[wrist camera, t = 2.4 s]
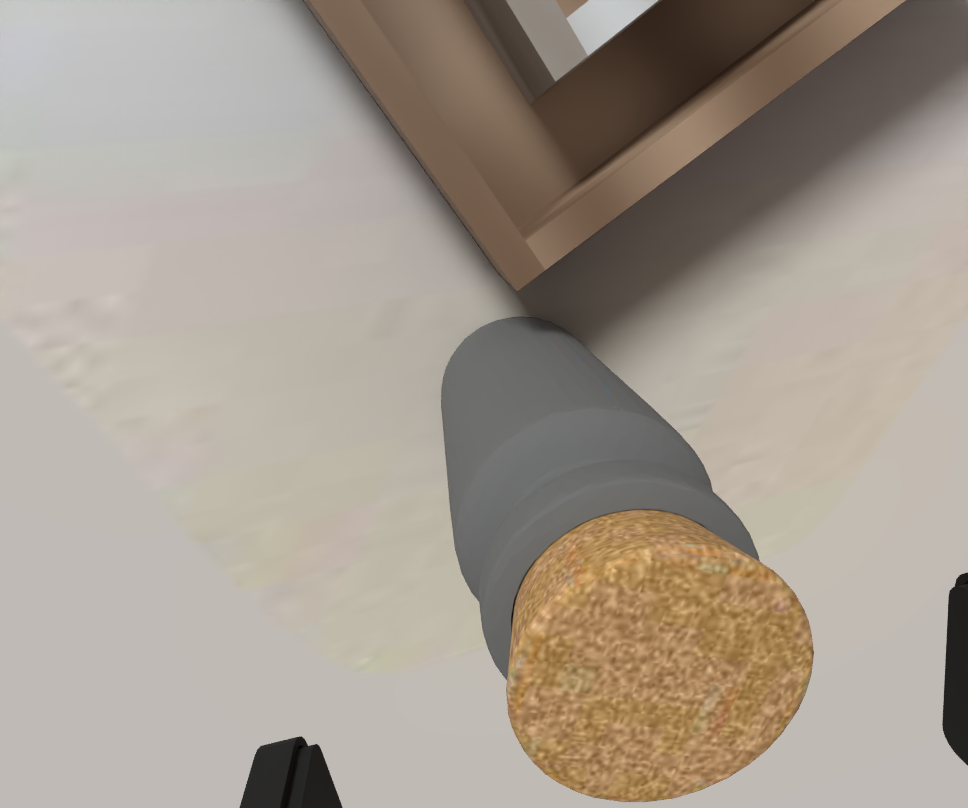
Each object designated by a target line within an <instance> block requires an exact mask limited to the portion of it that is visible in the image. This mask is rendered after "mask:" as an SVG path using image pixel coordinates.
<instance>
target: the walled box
mask: <svg viewBox="0 0 968 808" xmlns="http://www.w3.org/2000/svg"><path fill="white" fill-rule="evenodd" d="M303 1H304V2H305V4H306V5H307V7H308V8H309V9H310V11H311V12H312V14H313V15H314V16H315V18H316V19H317V21H318V22H319V23H320V25H321V26H322V28H323V29H324V30H325V32H326V33H327V35H328V36H329V37H330V39H331V40H332V42H333V43H334V44H335V46H336V47H337V49H338V50H339V51H340V53H341V54H342V56H343V57H344V58H345V60H346V61H347V63H348V64H349V65H350V67H351V68H352V69H353V71H354V72H355V74H356V75H357V76H358V78H359V79H360V81H361V82H362V83H363V85H364V86H365V88H366V89H367V90H368V92H369V93H370V95H371V96H372V97H373V99H374V100H375V102H376V103H377V104H378V106H379V107H380V109H381V110H382V111H383V113H384V114H385V116H386V117H387V118H388V120H389V121H390V123H391V124H392V125H393V127H394V128H395V130H396V131H397V132H398V134H399V135H400V137H401V138H402V139H403V141H404V142H405V144H406V145H407V146H408V148H409V149H410V151H411V152H412V153H413V155H414V156H415V158H416V159H417V160H418V162H419V163H420V165H421V166H422V167H423V169H424V170H425V172H426V173H427V174H428V176H429V177H430V179H431V180H432V181H433V183H434V184H435V186H436V187H437V188H438V190H439V191H440V192H441V194H442V195H443V197H444V198H445V199H446V201H447V202H448V204H449V205H450V206H451V208H452V209H453V211H454V212H455V213H456V215H457V216H458V218H459V219H460V220H461V222H462V223H463V225H464V226H465V227H466V229H467V230H468V232H469V233H470V234H471V236H472V237H473V239H474V240H475V241H476V243H477V244H478V246H479V247H480V248H481V250H482V251H483V253H484V254H485V255H486V257H487V258H488V260H489V261H490V262H491V264H492V265H493V267H494V268H495V269H496V271H497V272H498V274H499V275H500V276H501V277H502V278H504V279H505V280H506V281H507V282H508V283H509V284H510V285H511V286H512V287H513V288H514V289H515V290H516V291H518V290H520V289H521V288H522V287H524V286H525V285H526V284H528V283H529V282H530V281H532V280H533V279H534V278H536V277H537V276H538V275H540V274H541V273H542V272H544V271H545V270H546V269H548V268H549V267H550V266H552V265H553V264H554V263H556V262H557V261H558V260H560V259H561V258H562V257H564V256H565V255H566V254H568V253H569V252H570V251H572V250H573V249H574V248H576V247H577V246H579V245H580V244H581V243H583V242H584V241H585V240H587V239H588V238H589V237H591V236H592V235H593V234H595V233H596V232H597V231H599V230H600V229H601V228H603V227H604V226H605V225H607V224H608V223H609V222H611V221H612V220H613V219H615V218H616V217H617V216H619V215H620V214H621V213H623V212H624V211H625V210H627V209H628V208H629V207H631V206H632V205H633V204H635V203H636V202H637V201H639V200H640V199H641V198H643V197H644V196H645V195H647V194H648V193H649V192H651V191H652V190H653V189H655V188H656V187H657V186H659V185H660V184H661V183H663V182H664V181H665V180H667V179H668V178H669V177H671V176H672V175H673V174H675V173H676V172H677V171H679V170H680V169H681V168H683V167H684V166H685V165H687V164H688V163H689V162H691V161H692V160H693V159H695V158H696V157H697V156H699V155H700V154H701V153H703V152H704V151H705V150H707V149H708V148H709V147H711V146H712V145H713V144H715V143H716V142H717V141H719V140H720V139H721V138H723V137H724V136H725V135H727V134H728V133H729V132H731V131H732V130H733V129H735V128H736V127H737V126H739V125H740V124H741V123H743V122H744V121H745V120H747V119H748V118H749V117H751V116H752V115H753V114H755V113H756V112H757V111H759V110H760V109H761V108H763V107H764V106H765V105H767V104H768V103H769V102H771V101H772V100H773V99H775V98H776V97H777V96H779V95H780V94H781V93H783V92H784V91H785V90H787V89H788V88H789V87H791V86H792V85H793V84H795V83H796V82H797V81H799V80H800V79H801V78H803V77H804V76H805V75H807V74H808V73H809V72H811V71H812V70H813V69H815V68H816V67H817V66H819V65H820V64H821V63H823V62H824V61H825V60H827V59H828V58H829V57H831V56H832V55H833V54H835V53H836V52H837V51H839V50H840V49H841V48H843V47H844V46H845V45H847V44H848V43H849V42H851V41H852V40H853V39H855V38H856V37H857V36H859V35H860V34H861V33H863V32H864V31H865V30H867V29H868V28H869V27H871V26H872V25H873V24H875V23H876V22H877V21H879V20H880V19H881V18H883V17H884V16H885V15H887V14H888V13H889V12H891V11H892V10H893V9H895V8H896V7H898V6H899V5H900V4H902V3H903V2H904V1H906V0H303Z"/></svg>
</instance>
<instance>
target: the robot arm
mask: <svg viewBox="0 0 968 808" xmlns="http://www.w3.org/2000/svg"><path fill="white" fill-rule="evenodd" d="M943 731H944V734H945V737H946V739H947V741H948V743H949V745H950V746H951V748H952V749H953V751H954V752H955V753H956V754H957V755H958V756H959V757H960V758H961V759H962V760H963V761H964V762H965V763H966V764H967V765H968V573H965V574H961V575H960V576H959V577H958V578H957V579H956V584H955V587H953V588H952V589H951V590H950V593H949V604H948V625H947V644H946V666H945V685H944V705H943ZM240 808H342V805H341V802H340V800H339V797H338V794H337V791H336V789H335V786H334V784H333V781H332V778H331V775H330V773H329V770H328V767H327V764H326V762H325V759H324V757H323V754H322V751H321V749H320V747H319V745H317V744H315V745H311V746H308V745H307V743H306V741H305V739H304V738H303V737H296V738H292V739H288V740H283V741H280V742H275V743H271V744H268V745H263V746H261V747H260V748H259V749H258V750H257V752H256V754H255V757H254V760H253V764H252V767H251V771H250V774H249V777H248V781H247V784H246V788H245V791H244V795H243V798H242V802H241V805H240Z"/></svg>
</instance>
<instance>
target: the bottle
mask: <svg viewBox="0 0 968 808" xmlns="http://www.w3.org/2000/svg"><path fill="white" fill-rule="evenodd" d="M441 408H442V419H443V431H444V442H445V454H446V466H447V477H448V489H449V500H450V511H451V519H452V528H453V536H454V544H455V550H456V554H457V557H458V561H459V565H460V568H461V572H462V574H463V577H464V579H465V581H466V583H467V585H468V586H469V588H470V590H471V592H472V593H473V595H474V596H475V597H476V598H477V600H478V601H479V603H480V612H481V621H482V629H483V633H484V637H485V640H486V643H487V646H488V649H489V652H490V654H491V656H492V658H493V660H494V663H495V665H496V666H497V668H498V669H499V670H500V672H501V673H502V675H503V676H504V677H505V678H506V680H507V687H506V692H507V704H508V715H509V718H510V722H511V725H512V728H513V730H514V732H515V735H516V737H517V739H518V741H519V742H520V744H521V746H522V748H523V750H524V751H525V752H526V754H527V755H528V756H529V758H530V759H531V760H532V762H533V763H534V764H535V765H537V766H538V767H539V768H540V769H541V770H542V771H543V772H544V773H545V774H546V775H548V776H549V777H551V778H552V779H554V780H555V781H557V782H558V783H560V784H562V785H564V786H566V787H568V788H570V789H572V790H574V791H576V792H579V793H582V794H585V795H588V796H591V797H594V798H600V799H607V800H614V801H621V802H648V801H656V800H664V799H672V798H676V797H680V796H683V795H686V794H689V793H693V792H696V791H699V790H702V789H704V788H706V787H709V786H711V785H713V784H715V783H717V782H720V781H722V780H724V779H726V778H728V777H730V776H731V775H733V774H734V773H736V772H737V771H739V770H741V769H742V768H744V767H745V766H747V765H749V764H750V763H751V762H752V761H753V760H755V759H756V758H757V757H759V756H760V755H761V754H762V753H763V752H765V751H766V750H767V749H768V748H769V747H770V746H771V745H772V743H773V742H774V741H775V740H776V739H777V738H778V737H779V736H780V735H781V734H782V732H783V731H784V729H785V728H786V726H787V725H788V724H789V722H790V721H791V719H792V718H793V716H794V715H795V713H796V712H797V711H798V709H799V707H800V704H801V702H802V700H803V698H804V696H805V693H806V690H807V687H808V684H809V680H810V677H811V672H812V664H813V655H814V651H813V643H812V635H811V630H810V626H809V621H808V619H807V616H806V614H805V611H804V609H803V607H802V605H801V604H800V602H799V600H798V598H797V597H796V595H795V593H794V592H793V590H792V589H790V587H789V586H788V585H787V584H786V582H785V581H784V580H783V579H782V578H781V577H780V576H779V575H778V574H776V573H775V572H774V571H773V570H771V569H770V568H768V567H767V566H765V565H764V564H762V563H761V562H760V561H759V556H758V553H757V551H756V548H755V546H754V544H753V541H752V539H751V536H750V534H749V532H748V531H747V529H746V528H745V526H744V525H743V523H742V522H741V520H740V519H739V517H738V516H737V515H736V514H735V513H734V512H733V511H732V510H731V509H730V508H729V506H728V505H727V504H726V503H725V502H724V501H723V500H722V499H720V498H719V497H718V496H717V495H716V494H715V493H714V492H713V491H712V487H711V482H710V479H709V477H708V474H707V472H706V470H705V468H704V465H703V464H702V462H701V460H700V459H699V457H698V456H697V454H696V453H695V451H694V450H693V449H692V448H691V446H690V445H689V444H688V443H687V442H686V441H685V440H684V439H683V437H682V436H681V435H680V434H679V433H678V432H677V431H676V430H675V429H674V428H673V427H672V426H671V425H670V424H669V423H668V422H667V421H666V420H664V419H663V418H662V417H661V416H660V415H659V414H658V413H657V412H656V411H655V410H654V409H653V408H652V407H651V406H650V405H649V404H647V403H646V402H645V401H644V400H643V399H642V398H641V397H640V396H639V395H637V394H636V393H635V392H634V391H633V390H632V389H631V388H630V387H629V386H628V385H626V384H625V383H624V382H623V381H622V380H621V379H620V378H619V377H618V376H616V375H615V374H614V373H613V372H612V371H611V370H610V369H609V368H608V367H606V366H605V365H604V364H603V363H602V362H601V361H600V360H599V359H598V358H597V357H595V356H594V355H593V354H592V353H591V352H590V351H589V350H588V349H587V348H585V347H584V346H583V345H582V344H581V343H580V342H579V341H577V340H576V339H575V338H574V337H572V336H571V335H570V334H569V333H567V332H566V331H564V330H563V329H561V328H559V327H558V326H556V325H554V324H551V323H549V322H547V321H544V320H540V319H535V318H530V317H512V318H506V319H502V320H497V321H494V322H492V323H489V324H487V325H485V326H483V327H481V328H479V329H478V330H476V331H475V332H474V333H472V334H471V335H470V336H468V337H467V338H466V339H465V340H464V341H463V342H462V343H461V345H460V346H459V347H458V348H457V350H456V351H455V352H454V354H453V355H452V357H451V359H450V361H449V363H448V365H447V367H446V370H445V374H444V377H443V383H442V395H441Z"/></svg>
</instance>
